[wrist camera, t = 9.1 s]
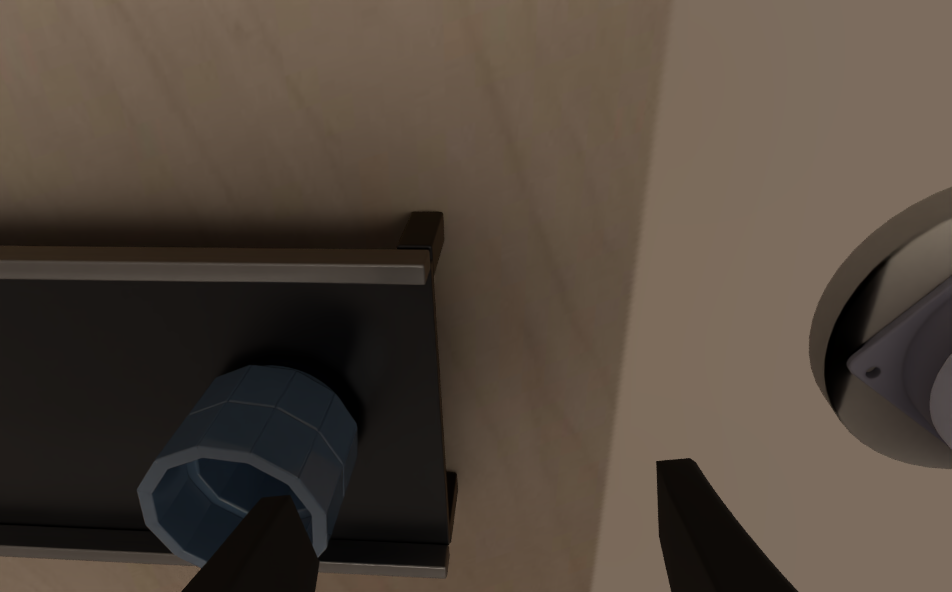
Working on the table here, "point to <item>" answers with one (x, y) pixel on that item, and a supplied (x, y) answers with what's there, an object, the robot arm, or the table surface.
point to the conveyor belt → (194, 368)
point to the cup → (251, 460)
